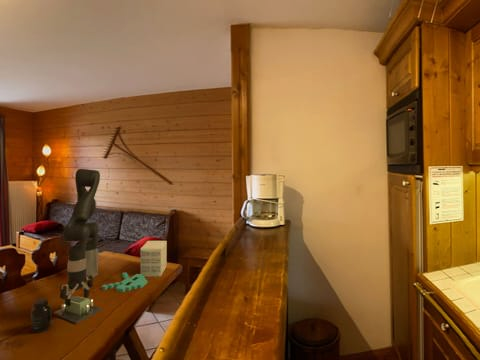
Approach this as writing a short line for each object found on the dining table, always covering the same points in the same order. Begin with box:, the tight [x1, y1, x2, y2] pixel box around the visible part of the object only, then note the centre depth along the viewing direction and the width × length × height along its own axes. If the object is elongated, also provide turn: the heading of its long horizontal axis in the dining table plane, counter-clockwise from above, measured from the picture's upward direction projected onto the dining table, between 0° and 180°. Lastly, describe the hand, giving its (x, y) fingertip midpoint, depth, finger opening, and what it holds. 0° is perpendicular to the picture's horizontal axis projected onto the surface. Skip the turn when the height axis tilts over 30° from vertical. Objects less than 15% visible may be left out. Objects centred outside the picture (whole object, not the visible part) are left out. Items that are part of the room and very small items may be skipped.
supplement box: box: [140, 240, 168, 277], centre depth 175 cm, size 17×13×18 cm
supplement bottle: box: [30, 297, 52, 334], centre depth 113 cm, size 7×7×12 cm
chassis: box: [53, 298, 102, 325], centre depth 125 cm, size 16×12×5 cm
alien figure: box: [101, 272, 148, 293], centre depth 157 cm, size 20×2×20 cm
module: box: [66, 295, 91, 315], centre depth 125 cm, size 9×5×5 cm, turn 72°
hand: (77, 301), depth 125 cm, fingers open, 8 cm apart
